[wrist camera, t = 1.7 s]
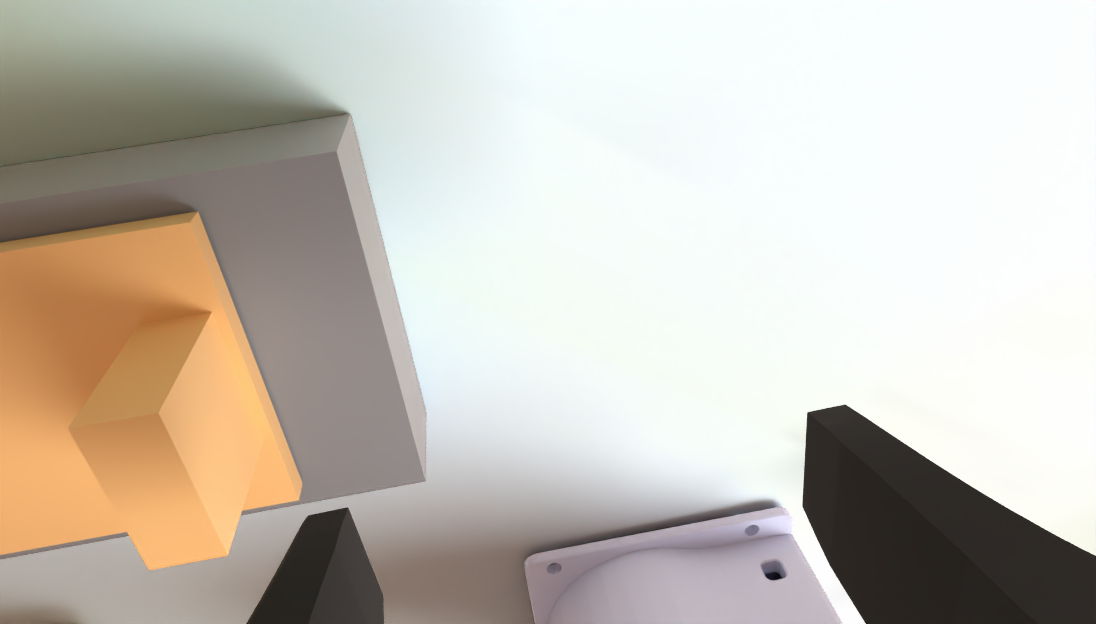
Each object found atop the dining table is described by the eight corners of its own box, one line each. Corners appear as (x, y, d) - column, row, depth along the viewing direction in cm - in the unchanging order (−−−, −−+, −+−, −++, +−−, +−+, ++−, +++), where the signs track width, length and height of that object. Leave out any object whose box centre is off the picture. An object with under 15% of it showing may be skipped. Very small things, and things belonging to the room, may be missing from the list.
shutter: (197, 211, 15) (125, 308, 11) (302, 483, 19) (273, 619, 15) (-214, 276, 14) (-422, 399, 11) (-21, 542, 18) (-130, 697, 15)
